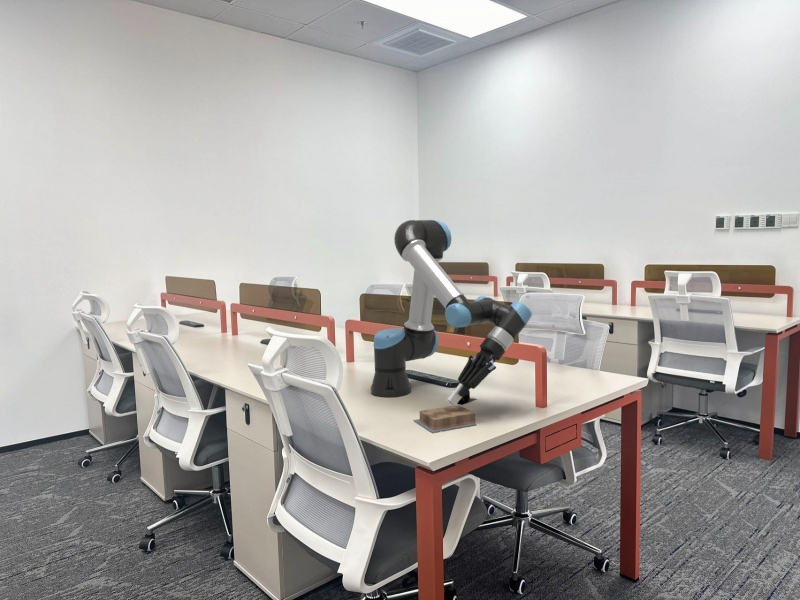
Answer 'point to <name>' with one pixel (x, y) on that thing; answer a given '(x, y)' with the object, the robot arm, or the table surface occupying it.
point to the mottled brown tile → (447, 417)
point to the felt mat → (443, 428)
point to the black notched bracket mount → (466, 398)
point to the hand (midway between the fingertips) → (451, 402)
